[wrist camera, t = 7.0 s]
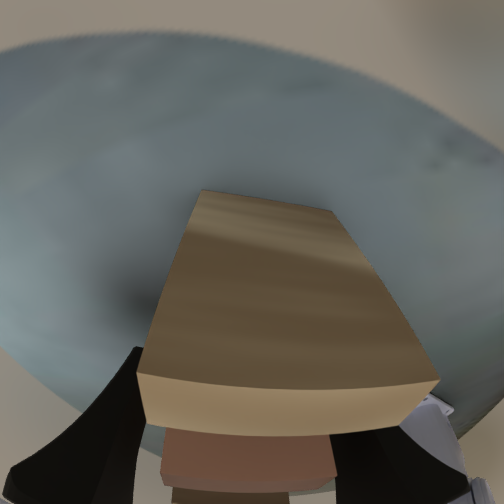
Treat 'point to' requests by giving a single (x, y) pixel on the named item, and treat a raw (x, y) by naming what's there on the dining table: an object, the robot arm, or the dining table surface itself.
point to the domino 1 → (277, 329)
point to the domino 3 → (226, 497)
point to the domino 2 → (246, 462)
